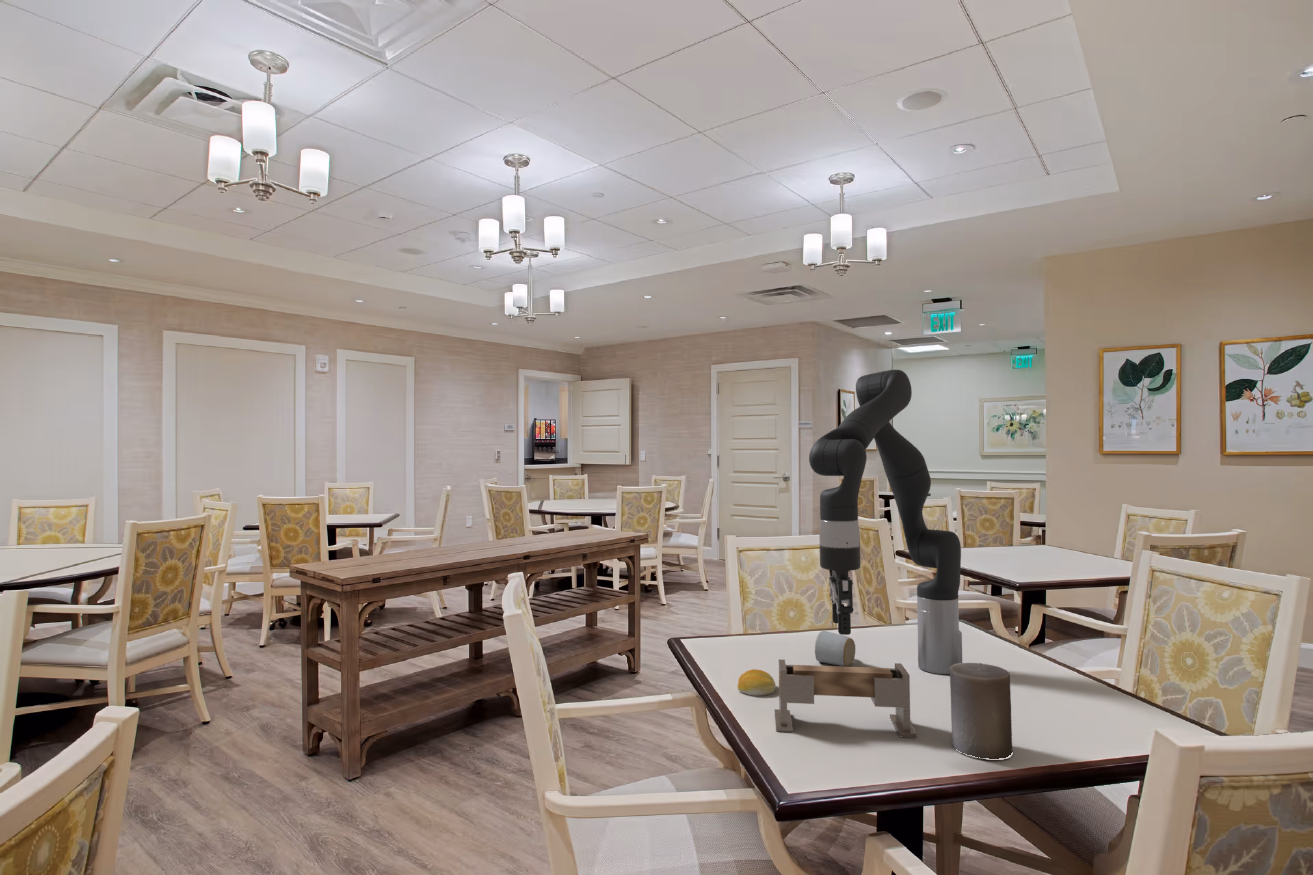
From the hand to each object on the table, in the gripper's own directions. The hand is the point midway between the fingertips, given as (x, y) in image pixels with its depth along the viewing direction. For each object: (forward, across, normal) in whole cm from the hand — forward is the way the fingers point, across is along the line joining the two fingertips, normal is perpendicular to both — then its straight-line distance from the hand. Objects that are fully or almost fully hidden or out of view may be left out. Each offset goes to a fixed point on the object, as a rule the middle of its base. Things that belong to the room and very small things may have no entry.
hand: (841, 628), depth 130 cm
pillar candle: (+19, -8, -22) cm, 30 cm away
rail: (+12, 0, 0) cm, 12 cm away
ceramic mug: (+19, +40, -4) cm, 45 cm away
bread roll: (+19, +19, +16) cm, 31 cm away
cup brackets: (+18, 0, 0) cm, 18 cm away
